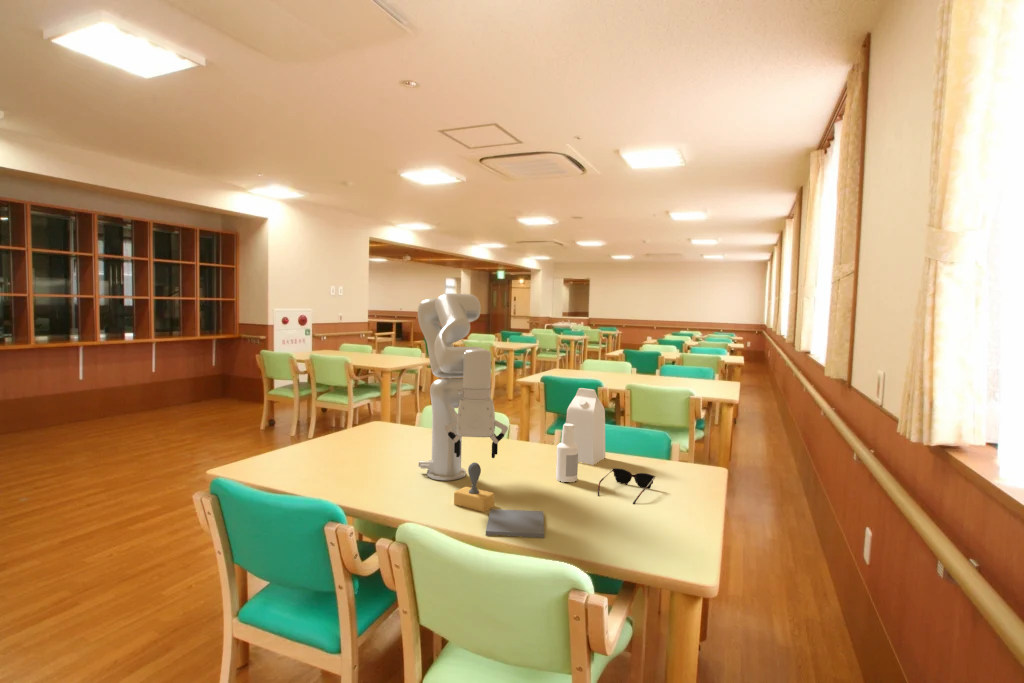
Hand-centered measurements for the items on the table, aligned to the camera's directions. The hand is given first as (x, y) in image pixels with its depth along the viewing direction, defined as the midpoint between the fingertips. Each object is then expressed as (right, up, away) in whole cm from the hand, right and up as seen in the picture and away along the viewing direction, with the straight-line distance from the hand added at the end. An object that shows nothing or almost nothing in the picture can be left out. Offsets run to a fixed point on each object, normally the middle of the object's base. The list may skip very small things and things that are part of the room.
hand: (475, 456), depth 143 cm
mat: (+11, -15, -11) cm, 21 cm away
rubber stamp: (-1, -14, +1) cm, 14 cm away
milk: (+37, -12, +50) cm, 63 cm away
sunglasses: (+44, -15, +15) cm, 49 cm away
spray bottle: (+27, -13, +25) cm, 40 cm away
